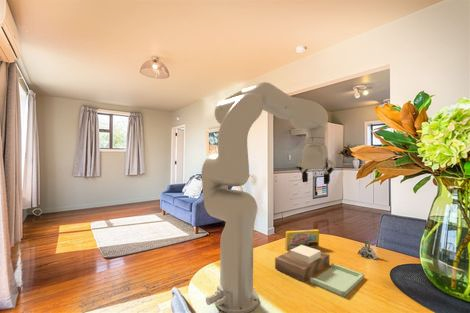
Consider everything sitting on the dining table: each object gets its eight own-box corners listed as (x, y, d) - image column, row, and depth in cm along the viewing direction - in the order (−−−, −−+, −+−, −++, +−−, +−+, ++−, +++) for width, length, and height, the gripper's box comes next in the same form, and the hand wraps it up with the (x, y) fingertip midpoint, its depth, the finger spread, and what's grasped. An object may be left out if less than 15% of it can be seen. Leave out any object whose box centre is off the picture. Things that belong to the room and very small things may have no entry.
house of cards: (345, 256, 97) (345, 237, 97) (359, 252, 100) (359, 235, 101) (365, 264, 89) (365, 245, 89) (379, 260, 92) (379, 241, 92)
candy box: (287, 251, 101) (287, 232, 101) (285, 249, 103) (285, 231, 103) (319, 248, 105) (319, 230, 105) (316, 246, 107) (316, 228, 107)
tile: (309, 264, 79) (309, 256, 79) (289, 256, 85) (289, 250, 85) (320, 257, 85) (320, 250, 85) (301, 251, 91) (301, 244, 91)
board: (304, 281, 75) (304, 269, 75) (275, 268, 84) (275, 257, 84) (329, 265, 87) (329, 254, 87) (301, 255, 96) (301, 245, 96)
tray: (344, 297, 66) (344, 292, 67) (309, 282, 75) (309, 277, 75) (364, 278, 77) (364, 274, 77) (332, 267, 85) (332, 263, 85)
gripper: (292, 143, 100) (292, 181, 100) (331, 140, 88) (331, 185, 87) (302, 144, 106) (302, 180, 105) (339, 141, 93) (339, 184, 92)
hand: (315, 182), depth 96 cm, fingers open, 9 cm apart
